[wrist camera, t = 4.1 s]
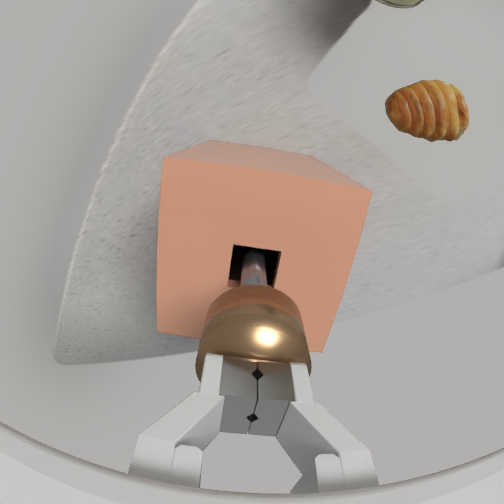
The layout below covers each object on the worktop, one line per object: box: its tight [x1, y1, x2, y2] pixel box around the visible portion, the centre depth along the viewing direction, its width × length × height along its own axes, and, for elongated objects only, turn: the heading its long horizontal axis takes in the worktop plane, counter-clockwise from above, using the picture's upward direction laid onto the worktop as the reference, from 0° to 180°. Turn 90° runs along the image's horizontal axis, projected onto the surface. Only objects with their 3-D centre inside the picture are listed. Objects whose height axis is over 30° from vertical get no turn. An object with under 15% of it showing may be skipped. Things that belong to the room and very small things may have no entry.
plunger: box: [195, 244, 311, 382], centre depth 15 cm, size 8×8×13 cm
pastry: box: [385, 80, 469, 142], centre depth 25 cm, size 9×7×4 cm
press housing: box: [157, 140, 372, 353], centre depth 23 cm, size 10×10×16 cm
